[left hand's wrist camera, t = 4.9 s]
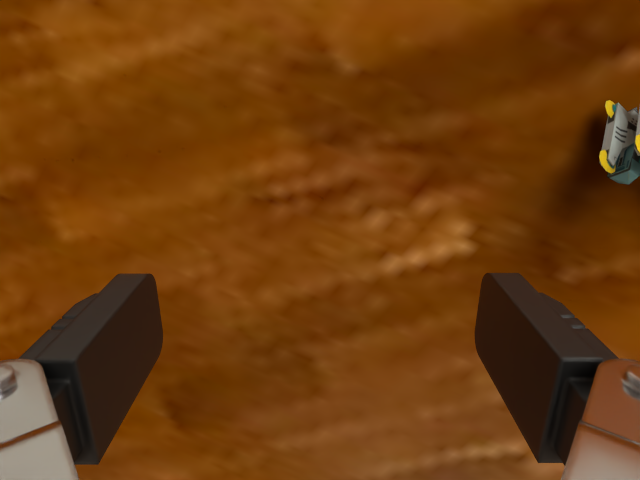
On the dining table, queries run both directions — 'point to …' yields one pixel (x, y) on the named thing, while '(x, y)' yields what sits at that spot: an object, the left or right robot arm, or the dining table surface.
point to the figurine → (621, 144)
